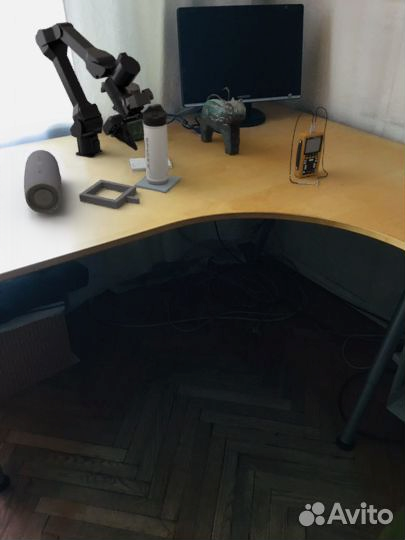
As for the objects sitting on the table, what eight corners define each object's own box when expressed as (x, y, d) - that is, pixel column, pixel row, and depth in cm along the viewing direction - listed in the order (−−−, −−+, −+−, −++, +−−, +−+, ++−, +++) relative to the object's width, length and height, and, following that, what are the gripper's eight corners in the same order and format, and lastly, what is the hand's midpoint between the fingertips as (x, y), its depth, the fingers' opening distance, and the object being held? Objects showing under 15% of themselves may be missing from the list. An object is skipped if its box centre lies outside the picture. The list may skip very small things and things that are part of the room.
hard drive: (131, 168, 139) (172, 164, 141) (128, 158, 145) (167, 155, 148) (132, 173, 140) (172, 169, 142) (129, 163, 146) (167, 159, 149)
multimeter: (303, 190, 130) (315, 120, 119) (283, 177, 137) (291, 109, 126) (343, 181, 136) (357, 113, 124) (321, 169, 143) (333, 103, 131)
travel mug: (167, 175, 136) (165, 106, 124) (169, 184, 130) (167, 113, 119) (146, 176, 135) (142, 107, 123) (147, 185, 130) (143, 114, 118)
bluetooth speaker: (66, 215, 116) (60, 179, 110) (28, 220, 114) (19, 183, 108) (62, 179, 134) (56, 146, 128) (29, 183, 132) (21, 149, 126)
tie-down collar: (80, 201, 123) (79, 194, 121) (101, 186, 131) (100, 179, 129) (129, 212, 118) (128, 205, 117) (148, 195, 126) (147, 188, 125)
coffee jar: (137, 133, 168) (134, 79, 157) (147, 139, 162) (144, 84, 151) (113, 137, 164) (107, 82, 153) (121, 144, 158) (116, 88, 147)
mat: (134, 186, 131) (134, 184, 130) (150, 173, 138) (150, 171, 138) (165, 192, 127) (165, 191, 127) (180, 179, 135) (180, 177, 135)
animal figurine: (244, 154, 152) (249, 92, 140) (229, 158, 149) (232, 95, 137) (209, 137, 165) (211, 78, 154) (195, 140, 162) (195, 81, 150)
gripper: (104, 85, 116) (136, 138, 116) (158, 73, 127) (187, 122, 128) (89, 110, 125) (118, 159, 125) (141, 97, 136) (168, 142, 137)
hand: (149, 145), depth 128 cm, fingers open, 9 cm apart
